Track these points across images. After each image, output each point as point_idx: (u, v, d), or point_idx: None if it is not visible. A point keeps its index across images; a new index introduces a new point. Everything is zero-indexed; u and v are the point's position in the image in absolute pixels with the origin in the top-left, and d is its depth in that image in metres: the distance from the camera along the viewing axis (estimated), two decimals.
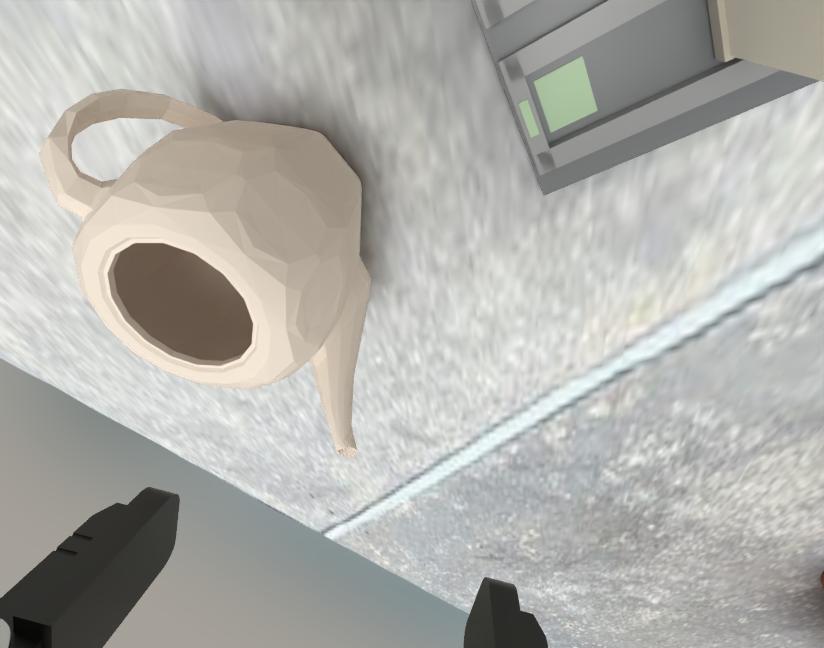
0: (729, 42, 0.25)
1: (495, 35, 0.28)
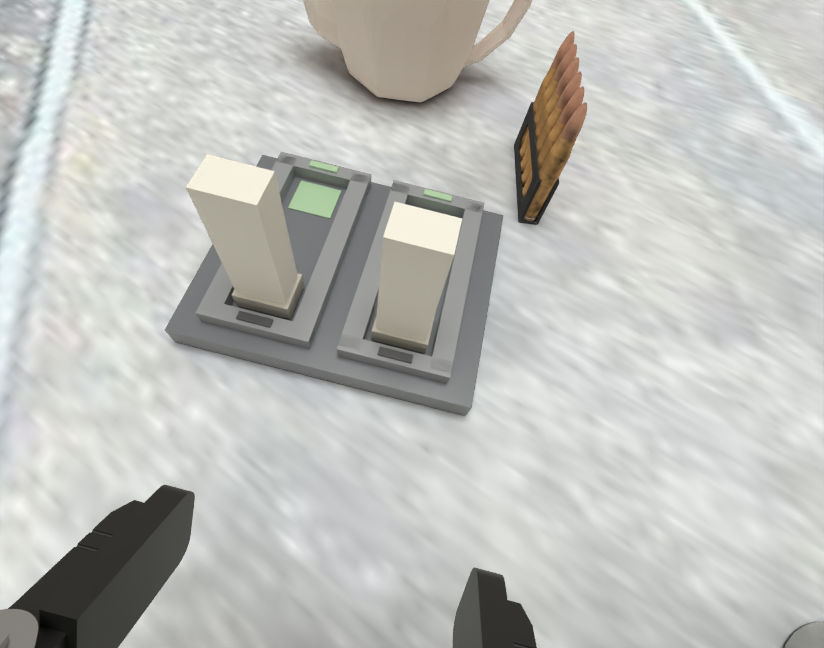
0: None
1: (385, 191, 0.38)
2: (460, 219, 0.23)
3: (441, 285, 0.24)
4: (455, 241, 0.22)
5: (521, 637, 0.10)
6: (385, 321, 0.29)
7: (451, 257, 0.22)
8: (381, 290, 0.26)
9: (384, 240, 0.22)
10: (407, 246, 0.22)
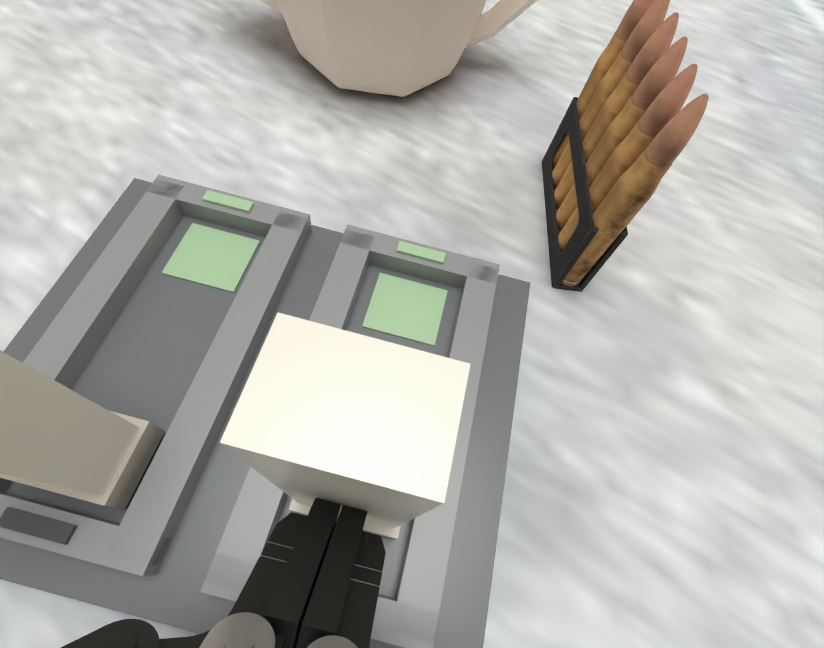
0: None
1: (334, 241, 0.23)
2: (465, 367, 0.08)
3: (414, 513, 0.09)
4: (449, 448, 0.07)
5: (371, 561, 0.11)
6: (310, 503, 0.14)
7: (436, 503, 0.07)
8: (279, 485, 0.11)
9: (228, 447, 0.07)
10: (301, 466, 0.07)
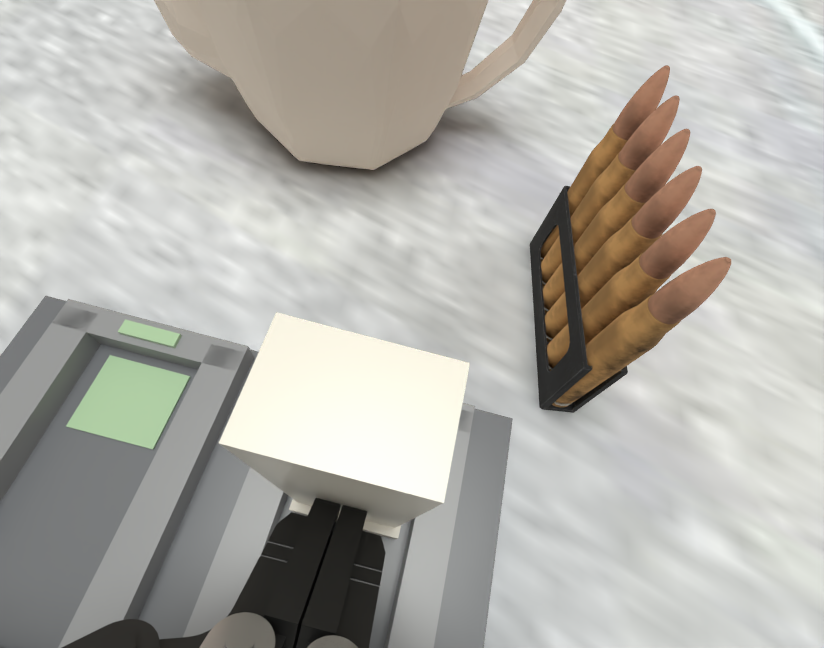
0: None
1: None
2: (464, 366, 0.08)
3: (414, 513, 0.09)
4: (448, 448, 0.07)
5: (370, 561, 0.11)
6: (310, 503, 0.14)
7: (435, 503, 0.07)
8: (279, 485, 0.11)
9: (227, 447, 0.07)
10: (301, 467, 0.07)
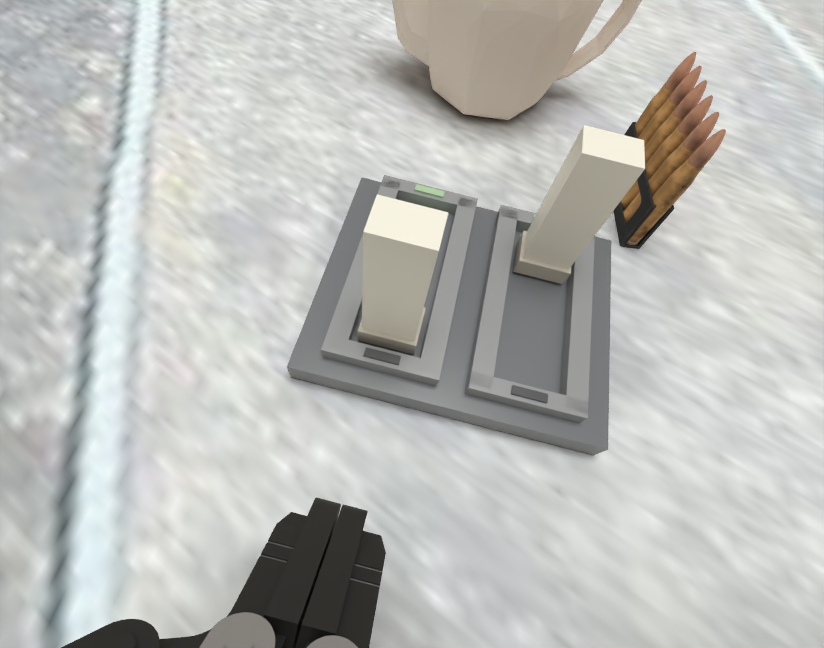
0: None
1: (489, 215, 0.37)
2: (642, 140, 0.25)
3: (615, 204, 0.27)
4: (643, 158, 0.25)
5: (370, 561, 0.11)
6: (536, 249, 0.32)
7: (641, 171, 0.24)
8: (550, 213, 0.29)
9: (581, 156, 0.25)
10: (602, 161, 0.24)
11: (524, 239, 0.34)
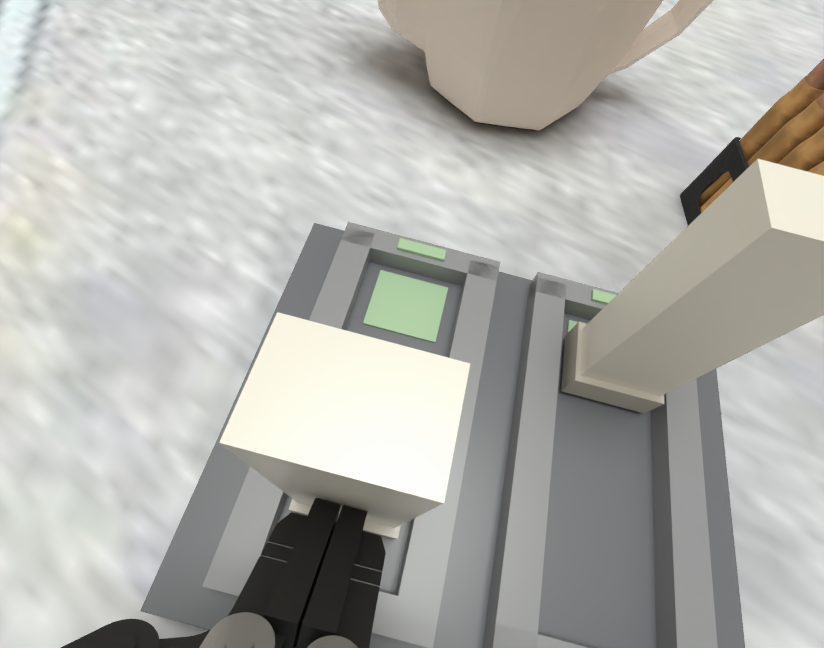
0: None
1: (517, 286, 0.23)
2: None
3: (804, 321, 0.13)
4: None
5: (371, 561, 0.11)
6: (609, 368, 0.18)
7: None
8: (652, 324, 0.15)
9: (767, 234, 0.11)
10: (816, 246, 0.10)
11: (581, 339, 0.20)
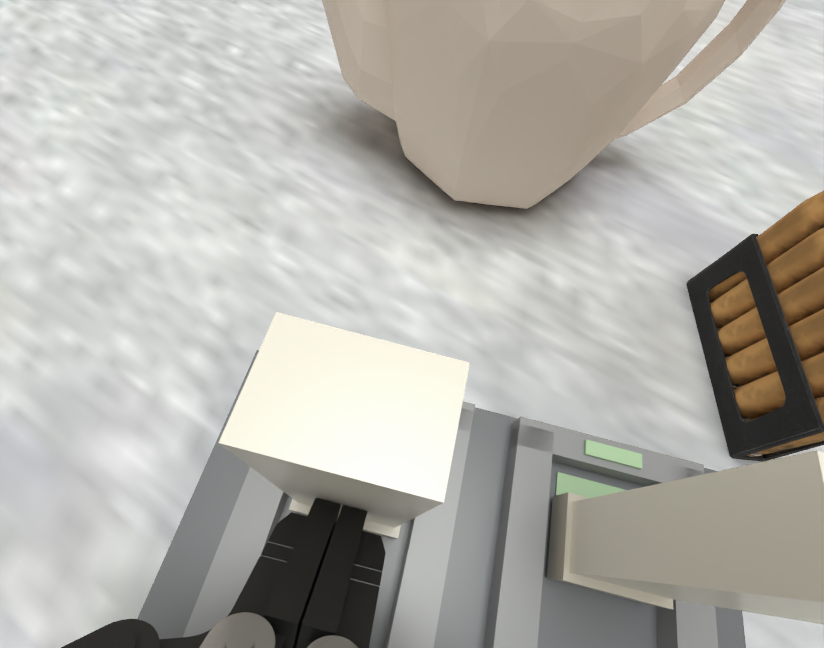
0: None
1: (497, 427, 0.20)
2: None
3: None
4: None
5: (371, 561, 0.11)
6: (604, 579, 0.14)
7: None
8: (661, 584, 0.11)
9: None
10: None
11: (571, 518, 0.16)
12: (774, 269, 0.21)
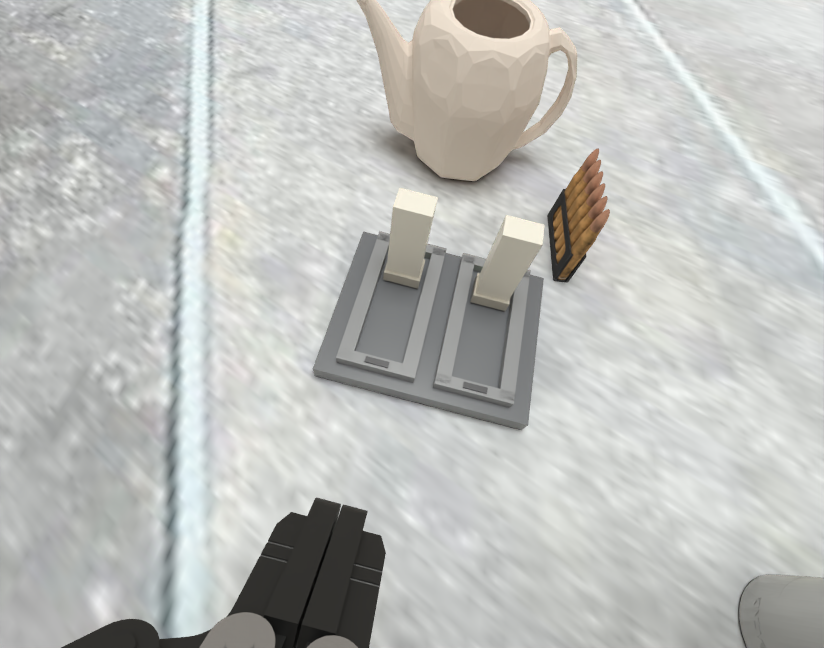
0: None
1: (455, 260, 0.51)
2: (543, 225, 0.40)
3: (529, 263, 0.41)
4: (542, 237, 0.39)
5: (370, 561, 0.11)
6: (484, 288, 0.46)
7: (540, 246, 0.39)
8: (489, 267, 0.43)
9: (502, 236, 0.39)
10: (516, 240, 0.39)
11: (477, 279, 0.48)
12: (567, 202, 0.53)
